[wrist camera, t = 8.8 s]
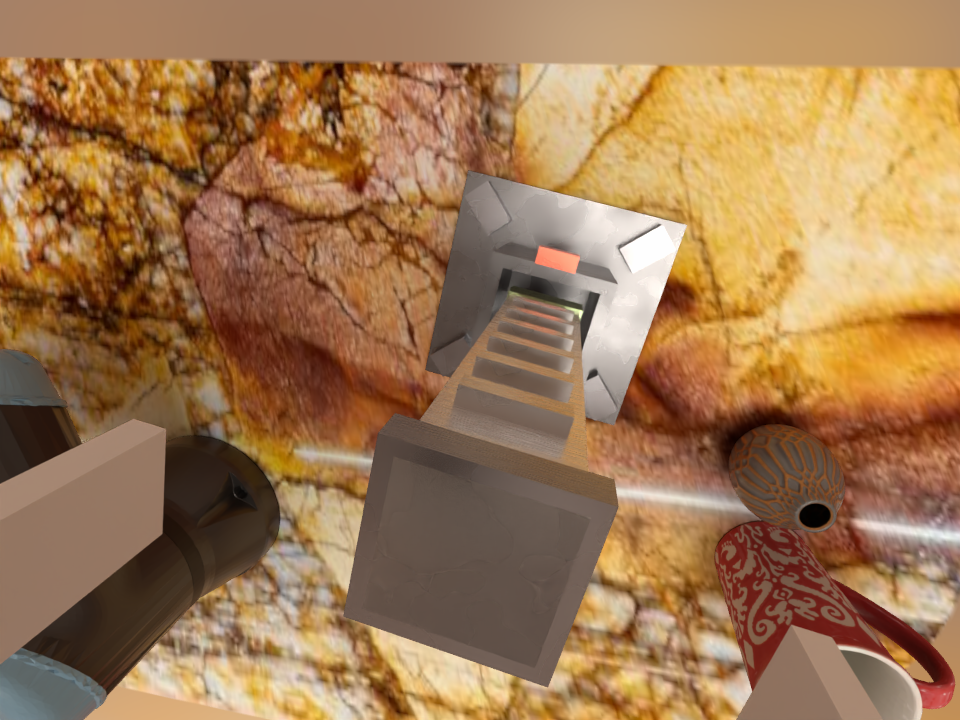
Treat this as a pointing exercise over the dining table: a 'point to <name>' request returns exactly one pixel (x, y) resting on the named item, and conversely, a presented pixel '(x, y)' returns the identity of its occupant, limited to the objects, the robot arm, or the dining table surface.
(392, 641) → the dining table surface
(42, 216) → the dining table surface
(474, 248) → the stand base
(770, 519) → the vase
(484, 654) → the column
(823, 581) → the mug
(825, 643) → the robot arm
